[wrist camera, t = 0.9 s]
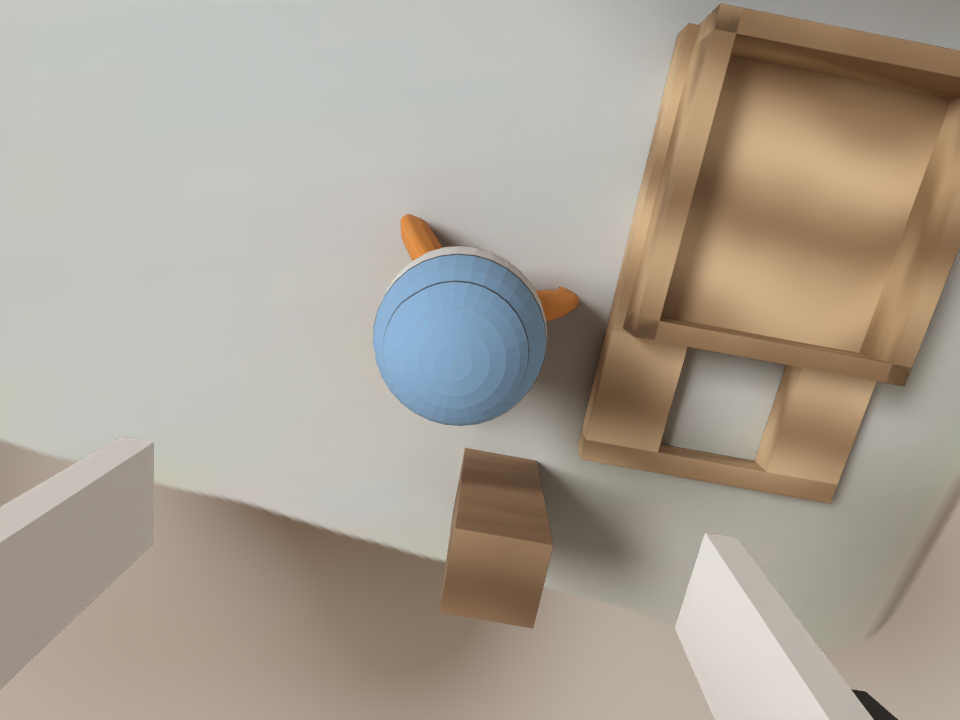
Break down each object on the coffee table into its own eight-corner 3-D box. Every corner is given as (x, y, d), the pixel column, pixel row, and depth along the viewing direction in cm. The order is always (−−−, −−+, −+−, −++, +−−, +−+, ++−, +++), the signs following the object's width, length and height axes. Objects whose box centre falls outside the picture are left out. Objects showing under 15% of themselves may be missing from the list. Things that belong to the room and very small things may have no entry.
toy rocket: (584, 258, 31) (679, 386, 17) (496, 399, 35) (516, 592, 21) (423, 171, 28) (386, 240, 15) (349, 334, 32) (266, 503, 19)
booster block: (465, 448, 32) (455, 528, 24) (536, 460, 33) (553, 545, 24) (452, 512, 34) (439, 612, 25) (522, 525, 34) (533, 628, 25)
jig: (677, 34, 27) (709, 1, 23) (962, 90, 27) (1041, 66, 23) (577, 448, 32) (588, 478, 28) (815, 491, 33) (858, 526, 29)
